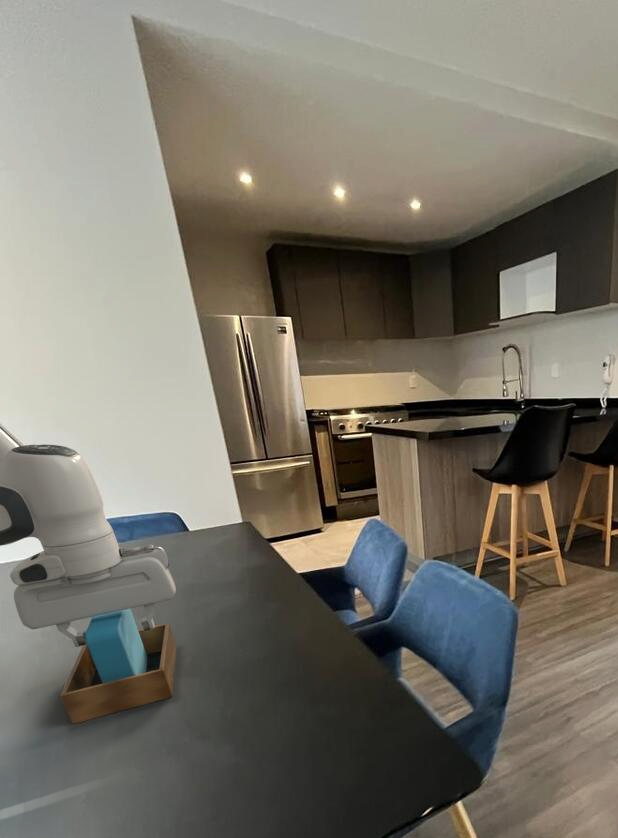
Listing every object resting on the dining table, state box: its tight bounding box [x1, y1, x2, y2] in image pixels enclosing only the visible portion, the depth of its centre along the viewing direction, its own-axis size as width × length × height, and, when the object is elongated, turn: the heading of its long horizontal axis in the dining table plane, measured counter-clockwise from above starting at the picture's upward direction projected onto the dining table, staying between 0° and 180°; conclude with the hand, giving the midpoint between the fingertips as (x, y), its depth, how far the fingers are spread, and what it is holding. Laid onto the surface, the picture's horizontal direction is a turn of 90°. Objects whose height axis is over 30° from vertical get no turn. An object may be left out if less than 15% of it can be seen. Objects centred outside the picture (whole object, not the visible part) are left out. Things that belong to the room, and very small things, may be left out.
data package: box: [85, 608, 149, 684], centre depth 80 cm, size 12×4×12 cm, turn 26°
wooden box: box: [60, 622, 177, 725], centre depth 81 cm, size 13×18×5 cm
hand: (116, 636), depth 79 cm, fingers open, 8 cm apart
